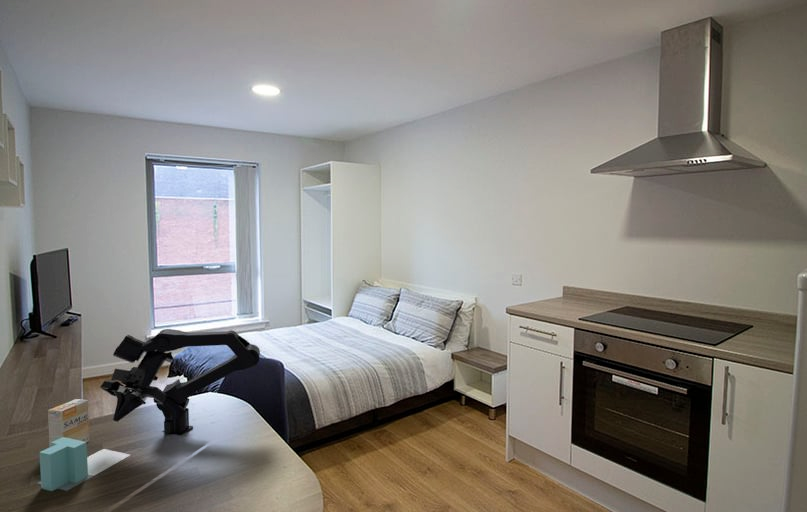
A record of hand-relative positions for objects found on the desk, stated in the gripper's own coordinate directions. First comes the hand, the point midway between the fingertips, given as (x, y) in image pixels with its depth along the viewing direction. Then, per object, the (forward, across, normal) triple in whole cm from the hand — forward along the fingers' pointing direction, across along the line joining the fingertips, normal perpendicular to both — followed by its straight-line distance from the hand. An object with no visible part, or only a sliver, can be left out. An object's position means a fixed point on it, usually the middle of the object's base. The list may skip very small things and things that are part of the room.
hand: (115, 421), depth 120 cm
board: (+13, 0, +1) cm, 13 cm away
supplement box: (+8, -15, +6) cm, 18 cm away
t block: (+16, 0, -4) cm, 17 cm away
